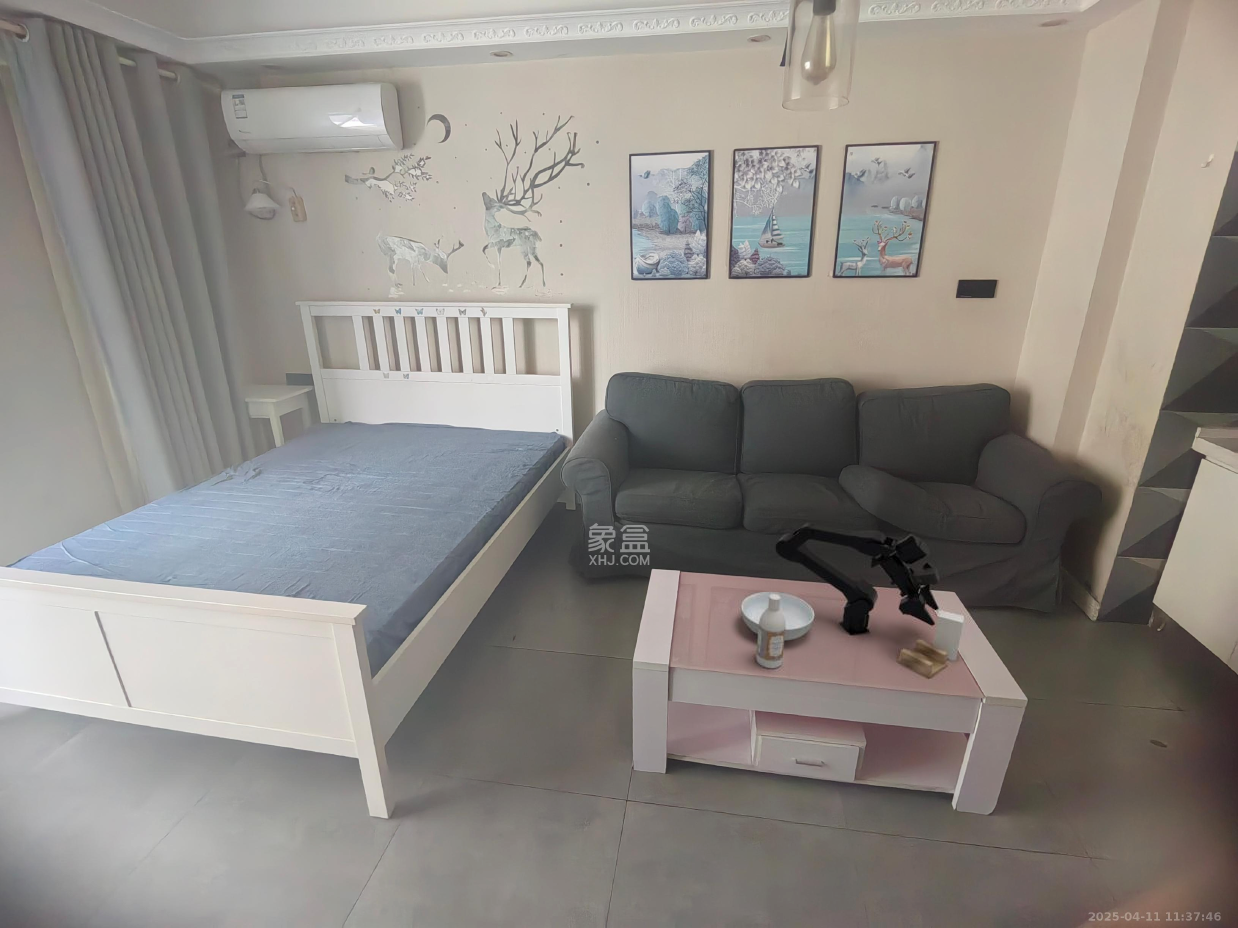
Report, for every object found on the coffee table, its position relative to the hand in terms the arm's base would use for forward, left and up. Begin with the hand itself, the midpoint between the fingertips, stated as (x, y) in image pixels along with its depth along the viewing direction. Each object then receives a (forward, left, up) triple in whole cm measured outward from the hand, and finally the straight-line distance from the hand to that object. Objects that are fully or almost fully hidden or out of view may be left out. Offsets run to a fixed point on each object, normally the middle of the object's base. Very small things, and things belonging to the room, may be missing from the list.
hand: (935, 616), depth 169 cm
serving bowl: (-37, +19, -11) cm, 44 cm away
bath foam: (-46, +5, -11) cm, 48 cm away
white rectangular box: (+3, -3, -11) cm, 11 cm away
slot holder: (-6, -5, -10) cm, 13 cm away
